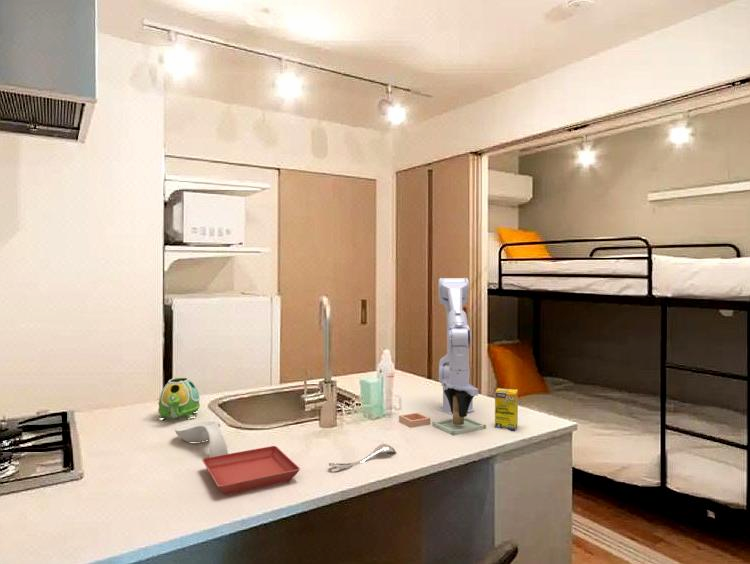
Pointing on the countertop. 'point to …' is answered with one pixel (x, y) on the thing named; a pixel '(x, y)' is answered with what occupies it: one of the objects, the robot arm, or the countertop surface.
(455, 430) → the tray
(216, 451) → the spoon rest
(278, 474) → the plant saucer
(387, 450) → the silver spork
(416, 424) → the tray
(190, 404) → the turtle holder
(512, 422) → the supplement box
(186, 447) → the countertop surface
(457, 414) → the dowel
